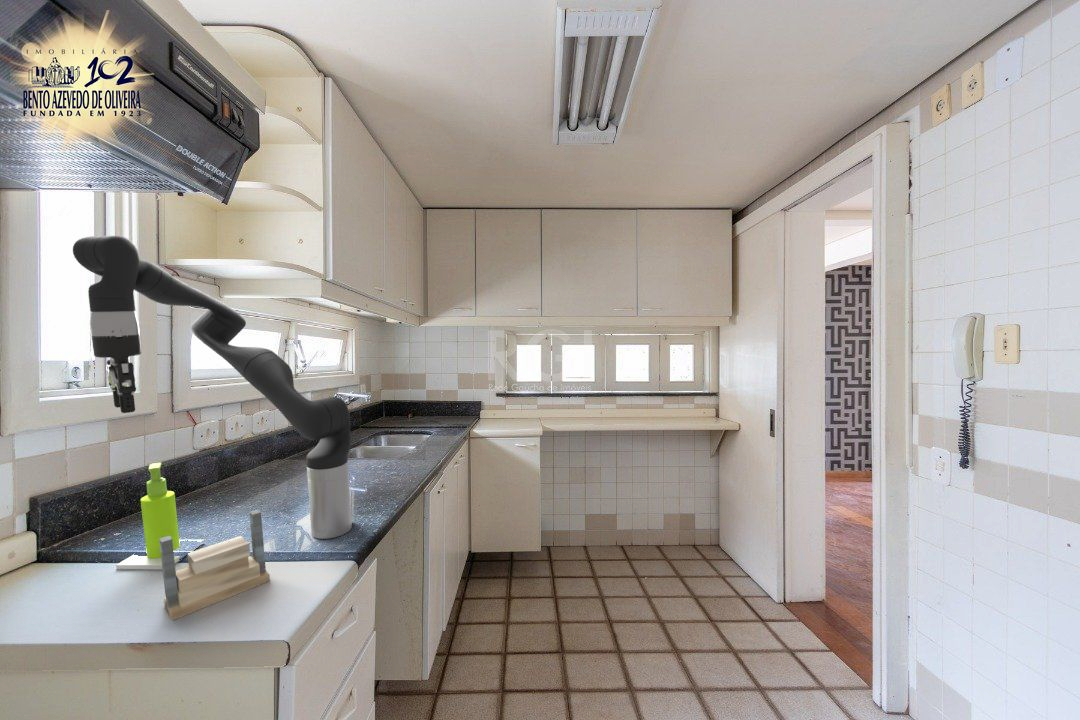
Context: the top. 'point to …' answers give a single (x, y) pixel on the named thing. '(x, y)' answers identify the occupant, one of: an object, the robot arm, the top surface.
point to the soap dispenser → (158, 513)
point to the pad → (145, 561)
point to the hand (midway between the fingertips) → (124, 409)
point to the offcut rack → (213, 571)
